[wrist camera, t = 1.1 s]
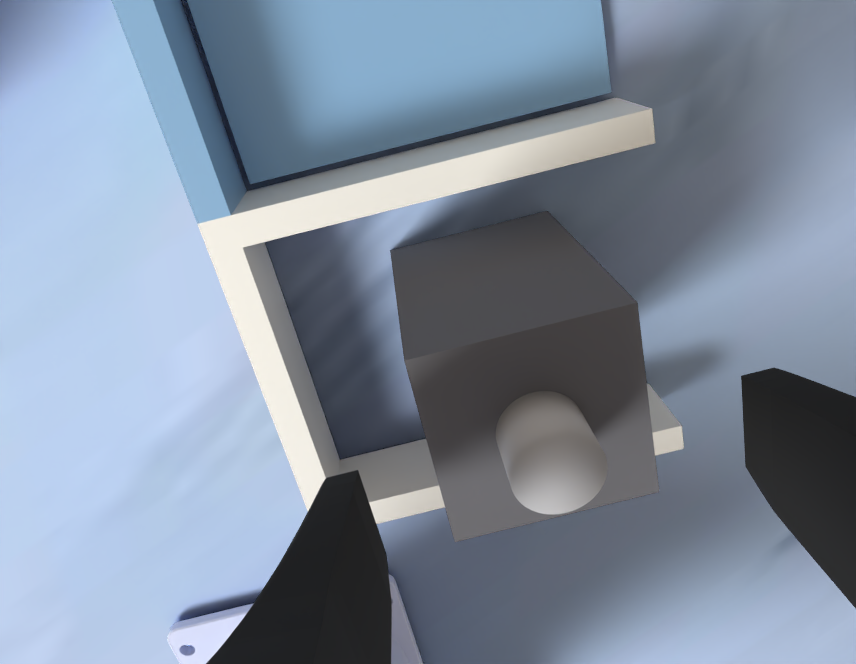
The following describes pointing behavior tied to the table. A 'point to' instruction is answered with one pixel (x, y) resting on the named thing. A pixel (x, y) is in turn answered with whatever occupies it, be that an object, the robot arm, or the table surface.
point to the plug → (524, 374)
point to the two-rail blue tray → (361, 135)
